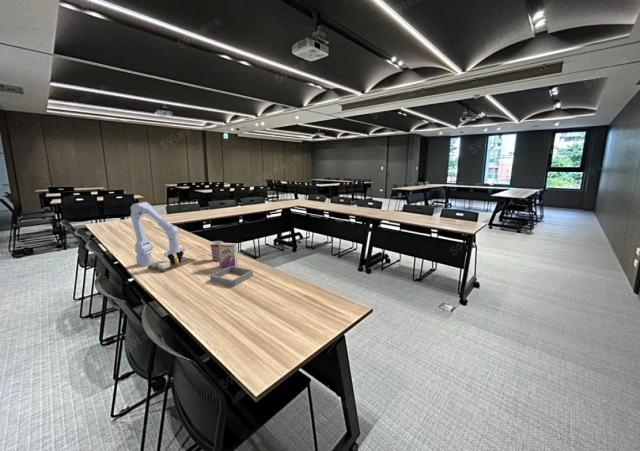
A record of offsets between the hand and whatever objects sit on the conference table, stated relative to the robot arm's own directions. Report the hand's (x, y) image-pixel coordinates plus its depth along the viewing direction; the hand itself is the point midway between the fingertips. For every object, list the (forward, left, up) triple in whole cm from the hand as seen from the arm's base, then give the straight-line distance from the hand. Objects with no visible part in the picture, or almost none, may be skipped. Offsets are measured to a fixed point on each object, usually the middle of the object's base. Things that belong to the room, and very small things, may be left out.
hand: (176, 263), depth 186 cm
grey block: (-7, -9, -1) cm, 11 cm away
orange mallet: (0, -5, -1) cm, 5 cm away
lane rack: (-4, +1, -2) cm, 4 cm away
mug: (+16, +24, -3) cm, 29 cm away
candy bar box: (+32, +16, -3) cm, 36 cm away
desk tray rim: (+48, +2, -2) cm, 48 cm away
